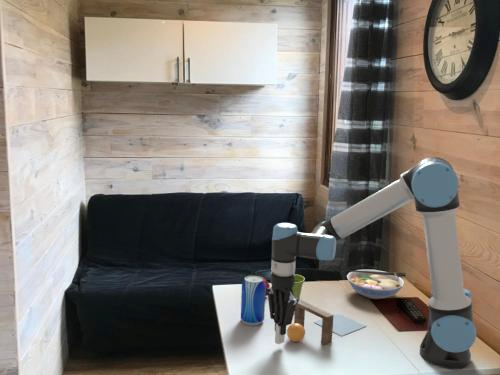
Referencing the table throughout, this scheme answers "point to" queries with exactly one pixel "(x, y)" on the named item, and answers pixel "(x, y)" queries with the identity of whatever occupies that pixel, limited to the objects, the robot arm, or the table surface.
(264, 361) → the table surface
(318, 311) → the bridge
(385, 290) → the ramen bowl
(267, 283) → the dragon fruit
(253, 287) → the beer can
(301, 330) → the ball
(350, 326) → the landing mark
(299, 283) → the plant pot
